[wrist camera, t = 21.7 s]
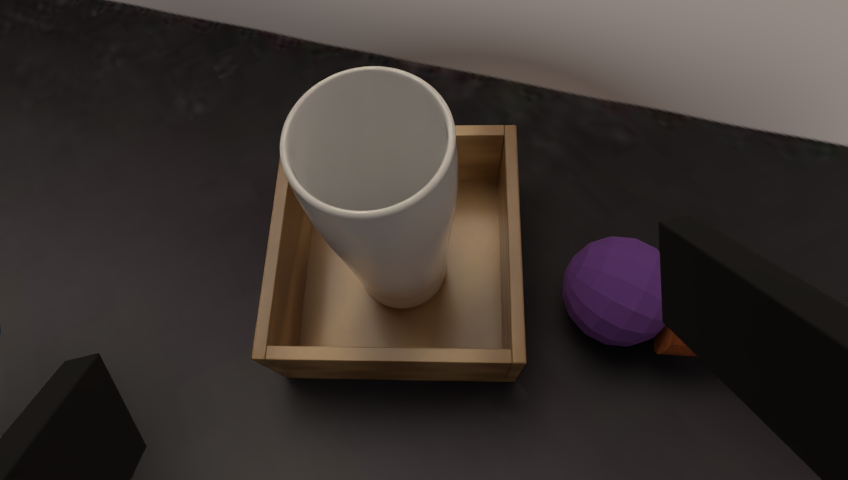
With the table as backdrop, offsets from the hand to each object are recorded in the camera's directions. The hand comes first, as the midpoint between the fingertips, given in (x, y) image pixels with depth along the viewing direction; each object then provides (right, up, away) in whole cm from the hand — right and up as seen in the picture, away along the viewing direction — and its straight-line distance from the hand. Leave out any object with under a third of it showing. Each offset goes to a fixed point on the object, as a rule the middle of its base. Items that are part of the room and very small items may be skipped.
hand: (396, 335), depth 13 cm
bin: (-1, 0, +22) cm, 22 cm away
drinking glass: (-1, 0, +22) cm, 22 cm away
